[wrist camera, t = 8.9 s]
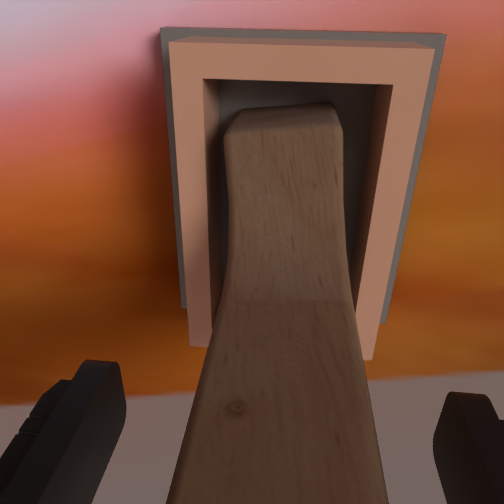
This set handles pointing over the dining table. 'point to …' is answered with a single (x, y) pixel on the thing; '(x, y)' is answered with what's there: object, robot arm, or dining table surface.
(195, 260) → the block holder
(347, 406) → the wooden block
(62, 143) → the dining table surface
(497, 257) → the dining table surface
